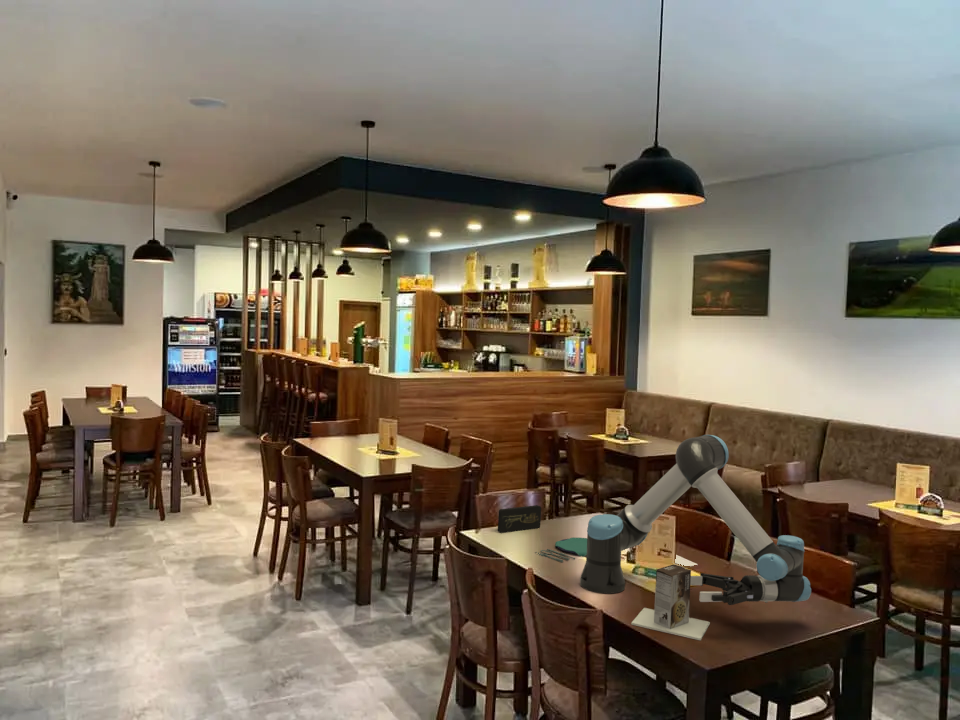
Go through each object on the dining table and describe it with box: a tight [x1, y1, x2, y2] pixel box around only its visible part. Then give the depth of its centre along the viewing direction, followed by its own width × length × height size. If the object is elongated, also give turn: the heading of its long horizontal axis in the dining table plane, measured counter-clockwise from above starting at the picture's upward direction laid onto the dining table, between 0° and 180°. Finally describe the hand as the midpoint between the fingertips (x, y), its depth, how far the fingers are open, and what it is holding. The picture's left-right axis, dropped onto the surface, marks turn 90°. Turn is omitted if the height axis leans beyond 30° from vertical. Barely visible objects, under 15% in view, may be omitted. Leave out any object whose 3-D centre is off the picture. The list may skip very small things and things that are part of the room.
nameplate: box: [497, 505, 542, 534], centre depth 312 cm, size 21×2×10 cm, turn 121°
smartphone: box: [674, 554, 698, 567], centre depth 279 cm, size 7×1×15 cm
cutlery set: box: [534, 537, 587, 563], centre depth 285 cm, size 20×30×2 cm, turn 130°
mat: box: [631, 607, 711, 641], centre depth 216 cm, size 20×14×1 cm
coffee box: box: [653, 563, 692, 629], centre depth 215 cm, size 9×6×16 cm
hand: (690, 588), depth 215 cm, fingers open, 13 cm apart
